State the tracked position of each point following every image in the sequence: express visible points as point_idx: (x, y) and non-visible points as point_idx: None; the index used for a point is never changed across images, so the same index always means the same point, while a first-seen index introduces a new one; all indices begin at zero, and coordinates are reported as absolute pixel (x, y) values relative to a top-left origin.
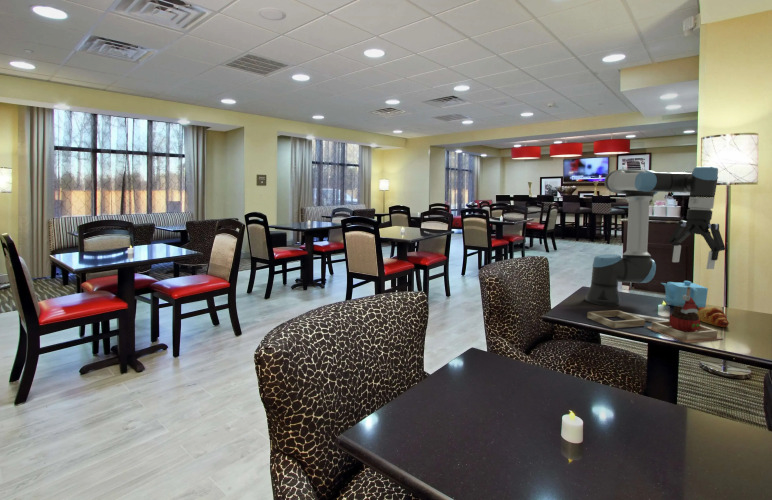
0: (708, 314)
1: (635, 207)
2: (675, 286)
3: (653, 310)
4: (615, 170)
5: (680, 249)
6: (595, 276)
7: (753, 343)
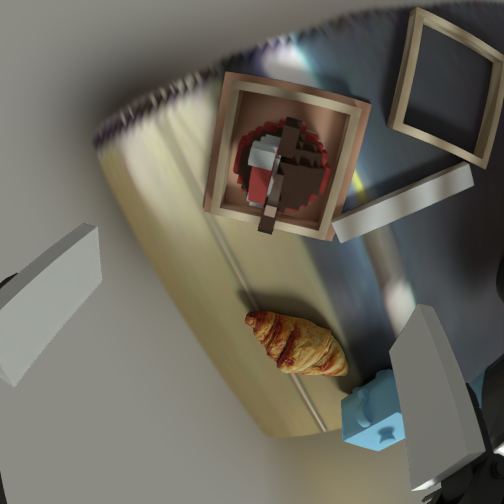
0: (295, 333)
1: None
2: None
3: None
4: None
5: (409, 451)
6: None
7: (162, 247)
